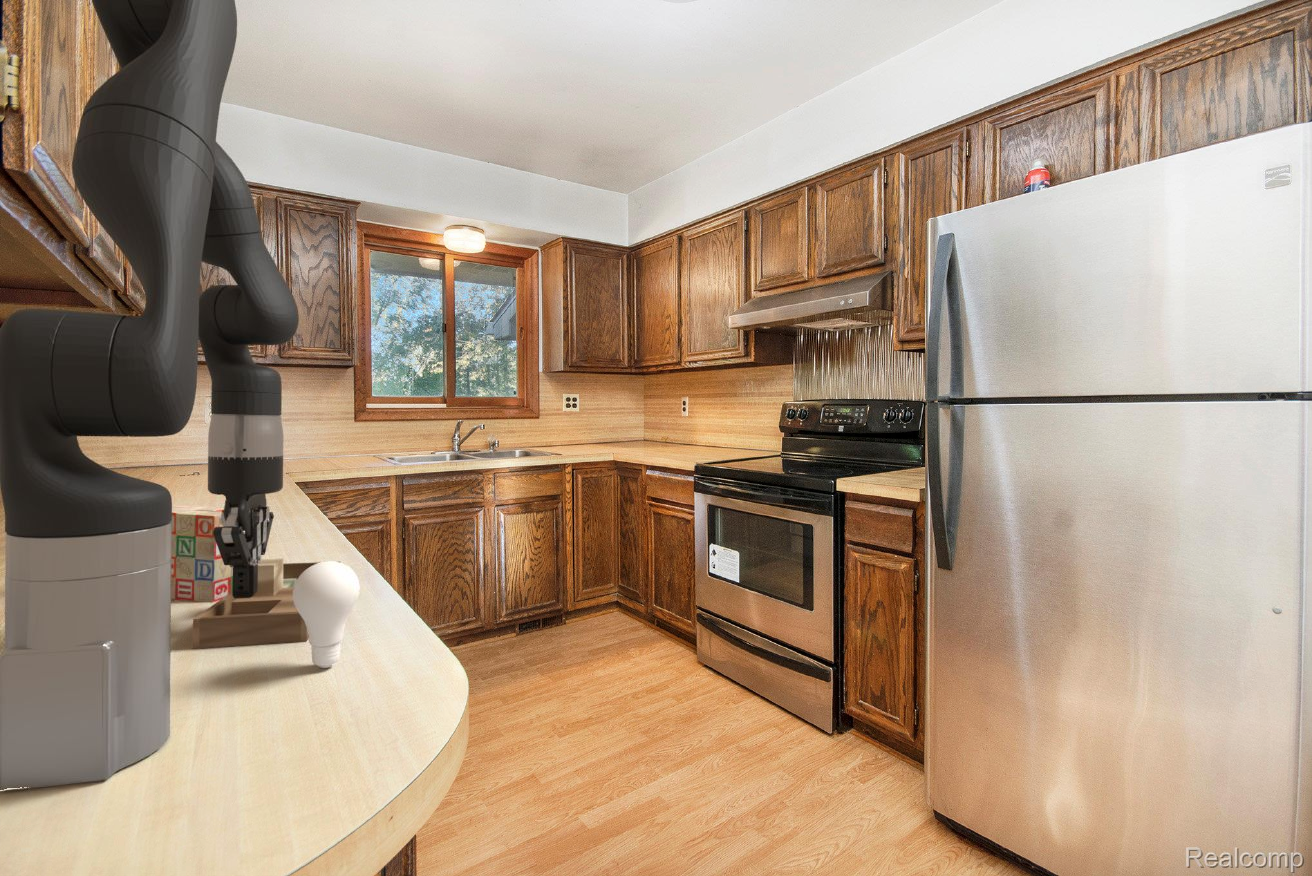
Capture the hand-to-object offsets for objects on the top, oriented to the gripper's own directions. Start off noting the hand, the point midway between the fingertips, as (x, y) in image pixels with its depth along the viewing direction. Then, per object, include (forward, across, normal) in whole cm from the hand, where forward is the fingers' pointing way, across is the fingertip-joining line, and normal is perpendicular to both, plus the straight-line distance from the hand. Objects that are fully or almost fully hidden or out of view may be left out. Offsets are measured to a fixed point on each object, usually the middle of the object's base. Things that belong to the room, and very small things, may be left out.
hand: (245, 596), depth 74 cm
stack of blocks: (+4, +20, +16) cm, 27 cm away
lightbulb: (+4, -14, -12) cm, 19 cm away
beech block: (+2, +8, 0) cm, 8 cm away
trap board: (+4, +5, -2) cm, 7 cm away
